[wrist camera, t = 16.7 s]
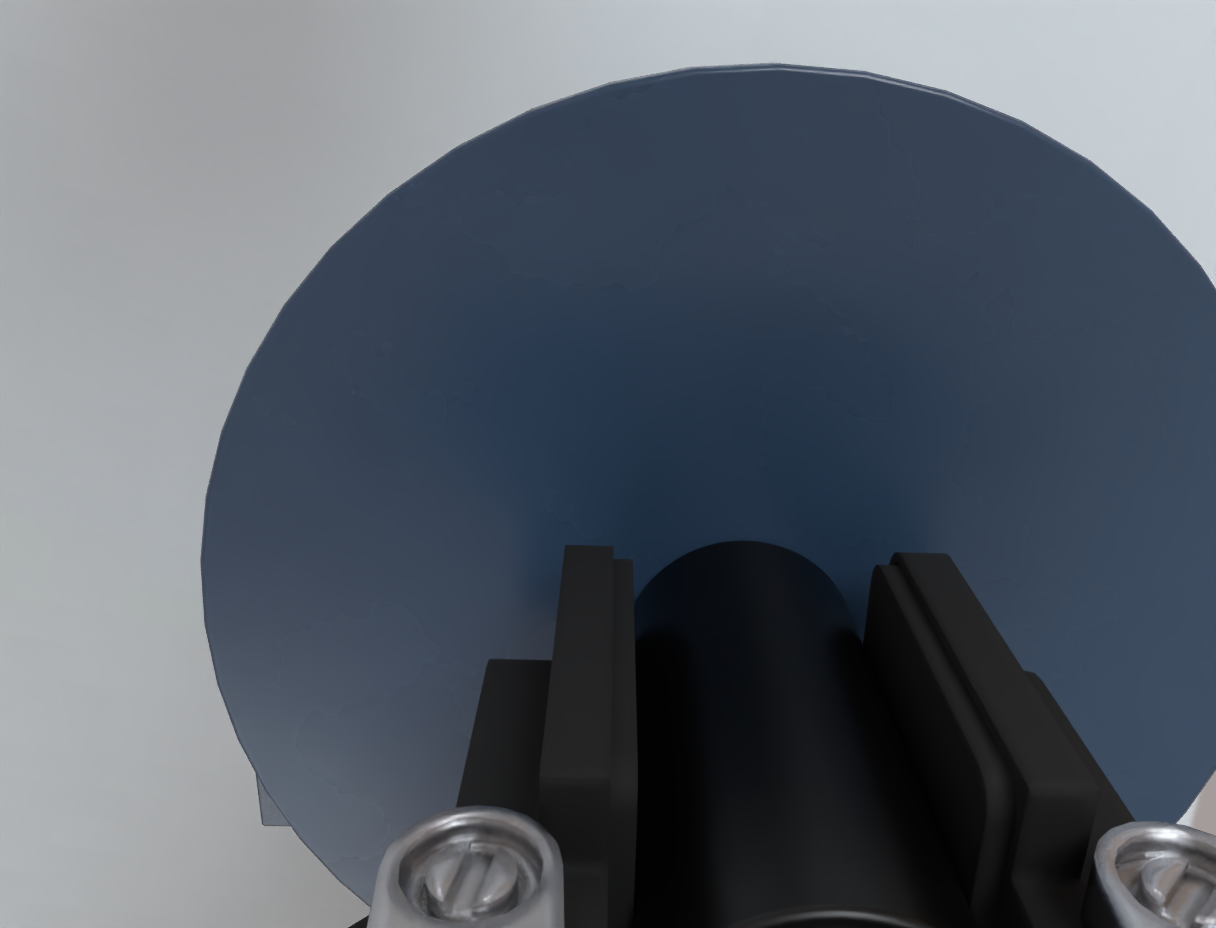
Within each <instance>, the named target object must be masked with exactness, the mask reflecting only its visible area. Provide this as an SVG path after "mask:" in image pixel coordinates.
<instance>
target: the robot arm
mask: <svg viewBox="0 0 1216 928" xmlns="http://www.w3.org/2000/svg"><path fill="white" fill-rule="evenodd" d="M613 557H614V546H590V545H565V549H564V558H563V567H562V576H561V585H560V593H559V602H558V611H557V620H556V629H555V638H554V647H553V656H552V660H525V659H490V660H488V663H487V667H486V671H485V675H484V680H483V684H482V689H481V694H480V698H479V703H478V707H477V712H476V717H475V721H474V726H473V731H472V735H471V740H470V744H469V749H468V754H467V758H466V763H465V767H464V772H463V777H462V781H461V786H460V790H459V795H458V800H457V804H456V808H450V809H447V810H444V811H441V812H438V813H436V814H433V815H430V816H427V817H425V818H423V819H421V820H420V821H418V822H417V823H415V824H413V825H412V826H410V827H409V828H407V829H406V830H404V831H403V832H402V833H401V834H400V835H399V836H398V837H397V838H396V840H395V841H394V842H393V843H392V844H391V845H390V846H389V847H388V848H387V850H386V853H385V855H384V858H383V860H382V862H381V865H380V867H379V870H378V875H377V880H376V885H375V889H374V894H373V899H372V904H371V909H370V914H369V915H368V916H367V917H365V918H363V919H362V920H360V921H358V922H357V923H355V924H353V925H352V926H350V927H349V928H631V923H632V920H633V913H634V886H635V859H636V831H637V799H638V750H637V709H636V668H635V627H634V586H633V559H613ZM863 647H864V650H865V652H866V655H867V657H868V660H869V662H870V665H871V667H872V669H873V672H874V674H875V677H876V679H877V682H878V684H879V687H880V689H881V692H882V694H883V697H884V699H885V701H886V704H887V706H888V709H889V711H890V714H891V716H892V719H893V721H894V724H895V726H896V729H897V731H898V733H899V736H900V738H901V741H902V743H903V746H904V748H905V751H906V753H907V756H908V758H909V761H910V763H911V765H912V768H913V770H914V773H915V775H916V778H917V780H918V783H919V785H920V788H921V790H922V793H923V795H924V797H925V800H926V802H927V805H928V807H929V810H930V812H931V815H932V817H933V820H934V822H935V825H936V827H937V829H938V832H939V834H940V837H941V839H942V842H943V844H944V847H945V849H946V852H947V854H948V857H949V859H950V861H951V864H952V866H953V869H954V871H955V874H956V876H957V879H958V881H959V884H960V886H961V889H962V891H963V894H964V896H965V898H966V901H967V903H968V906H969V908H970V911H971V913H972V916H973V918H974V921H975V923H976V926H977V928H1216V836H1215V835H1212V834H1209V833H1206V832H1203V831H1200V830H1197V829H1194V828H1191V827H1188V826H1185V825H1179V824H1173V823H1166V822H1160V821H1141V822H1136V821H1135V819H1134V818H1133V816H1132V815H1131V813H1130V812H1129V810H1128V809H1127V807H1126V806H1125V804H1124V803H1123V801H1122V800H1121V798H1120V797H1119V795H1118V794H1117V792H1116V791H1115V789H1114V788H1113V786H1112V785H1111V783H1110V782H1109V780H1108V779H1107V777H1106V776H1105V774H1104V773H1103V771H1102V770H1101V768H1100V767H1099V765H1098V764H1097V762H1096V761H1095V759H1094V758H1093V756H1092V754H1091V753H1090V751H1089V750H1088V748H1087V747H1086V745H1085V744H1084V742H1083V741H1082V739H1081V738H1080V736H1079V735H1078V733H1077V732H1076V730H1075V729H1074V727H1073V726H1072V724H1071V723H1070V721H1069V720H1068V718H1067V717H1066V715H1065V714H1064V712H1063V711H1062V709H1061V708H1060V706H1059V705H1058V703H1057V702H1056V700H1055V699H1054V697H1053V696H1052V694H1051V693H1050V691H1049V690H1048V688H1047V687H1046V685H1045V684H1044V682H1043V681H1042V680H1041V679H1040V678H1039V677H1038V676H1037V675H1036V673H1033V672H1030V671H1024V670H1023V668H1022V667H1021V665H1020V664H1019V662H1018V661H1017V659H1016V658H1015V656H1014V655H1013V653H1012V651H1011V650H1010V648H1009V647H1008V645H1007V644H1006V642H1005V641H1004V639H1003V638H1002V636H1001V634H1000V633H999V631H998V630H997V628H996V627H995V625H994V624H993V622H992V621H991V619H990V617H989V616H988V614H987V613H986V611H985V610H984V608H983V607H982V605H981V604H980V602H979V600H978V599H977V597H976V596H975V594H974V593H973V591H972V590H971V588H970V586H969V585H968V583H967V582H966V580H965V579H964V577H963V576H962V574H961V573H960V571H959V569H958V568H957V566H956V565H955V563H954V562H953V560H952V559H951V557H950V556H949V555H948V554H947V553H905V552H895V553H894V554H893V555H892V557H891V560H890V563H889V565H876V566H875V567H874V569H873V572H872V577H871V584H870V592H869V600H868V608H867V616H866V624H865V632H864V640H863Z"/></svg>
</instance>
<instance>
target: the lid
mask: <svg viewBox="0 0 1216 928" xmlns="http://www.w3.org/2000/svg"><path fill="white" fill-rule="evenodd" d="M565 545H590V546H614V557H613V559H633V586H634V627H635V668H636V709H637V750H638V799H637V831H636V859H635V886H634V913H633V920H632V923H631V928H977V926H976V923H975V921H974V918H973V916H972V913H971V911H970V908H969V906H968V903H967V901H966V898H965V896H964V894H963V891H962V889H961V886H960V884H959V881H958V879H957V876H956V874H955V871H954V869H953V866H952V864H951V861H950V859H949V857H948V854H947V852H946V849H945V847H944V844H943V842H942V839H941V837H940V834H939V832H938V829H937V827H936V825H935V822H934V820H933V817H932V815H931V812H930V810H929V807H928V805H927V802H926V800H925V797H924V795H923V793H922V790H921V788H920V785H919V783H918V780H917V778H916V775H915V773H914V770H913V768H912V765H911V763H910V761H909V758H908V756H907V753H906V751H905V748H904V746H903V743H902V741H901V738H900V736H899V733H898V731H897V729H896V726H895V724H894V721H893V719H892V716H891V714H890V711H889V709H888V706H887V704H886V701H885V699H884V697H883V694H882V692H881V689H880V687H879V684H878V682H877V679H876V677H875V674H874V672H873V669H872V667H871V665H870V662H869V660H868V657H867V655H866V652H865V650H864V647H863V640H864V632H865V624H866V616H867V608H868V600H869V592H870V584H871V577H872V572H873V569H874V567H875V566H876V565H889V563H890V560H891V557H892V555H893V554H894V553H895V552H905V553H947V554H948V555H949V556H950V557H951V559H952V560H953V562H954V563H955V565H956V566H957V568H958V569H959V571H960V573H961V574H962V576H963V577H964V579H965V580H966V582H967V583H968V585H969V586H970V588H971V590H972V591H973V593H974V594H975V596H976V597H977V599H978V600H979V602H980V604H981V605H982V607H983V608H984V610H985V611H986V613H987V614H988V616H989V617H990V619H991V621H992V622H993V624H994V625H995V627H996V628H997V630H998V631H999V633H1000V634H1001V636H1002V638H1003V639H1004V641H1005V642H1006V644H1007V645H1008V647H1009V648H1010V650H1011V651H1012V653H1013V655H1014V656H1015V658H1016V659H1017V661H1018V662H1019V664H1020V665H1021V667H1022V668H1023V670H1024V671H1030V672H1033V673H1036V675H1037V676H1038V677H1039V678H1040V679H1041V680H1042V681H1043V682H1044V684H1045V685H1046V687H1047V688H1048V690H1049V691H1050V693H1051V694H1052V696H1053V697H1054V699H1055V700H1056V702H1057V703H1058V705H1059V706H1060V708H1061V709H1062V711H1063V712H1064V714H1065V715H1066V717H1067V718H1068V720H1069V721H1070V723H1071V724H1072V726H1073V727H1074V729H1075V730H1076V732H1077V733H1078V735H1079V736H1080V738H1081V739H1082V741H1083V742H1084V744H1085V745H1086V747H1087V748H1088V750H1089V751H1090V753H1091V754H1092V756H1093V758H1094V759H1095V761H1096V762H1097V764H1098V765H1099V767H1100V768H1101V770H1102V771H1103V773H1104V774H1105V776H1106V777H1107V779H1108V780H1109V782H1110V783H1111V785H1112V786H1113V788H1114V789H1115V791H1116V792H1117V794H1118V795H1119V797H1120V798H1121V800H1122V801H1123V803H1124V804H1125V806H1126V807H1127V809H1128V810H1129V812H1130V813H1131V815H1132V816H1133V818H1134V819H1135V821H1136V822H1141V821H1160V822H1166V823H1173V824H1176V823H1177V822H1178V821H1179V820H1180V818H1181V817H1182V816H1183V815H1184V814H1185V813H1186V812H1187V810H1188V809H1189V807H1190V806H1191V804H1192V803H1193V802H1194V800H1195V799H1196V797H1197V796H1198V795H1199V793H1200V792H1201V790H1202V789H1203V787H1204V786H1205V785H1206V783H1207V782H1208V780H1209V779H1210V778H1211V776H1212V775H1213V773H1214V772H1215V770H1216V288H1215V287H1214V285H1213V284H1212V282H1211V281H1210V279H1209V277H1208V276H1207V274H1206V273H1205V271H1204V270H1203V268H1202V267H1201V265H1200V264H1199V263H1198V262H1197V261H1196V260H1195V258H1194V257H1193V256H1192V255H1191V254H1190V253H1189V252H1188V251H1187V249H1186V248H1185V247H1184V246H1183V245H1182V244H1181V243H1180V242H1179V240H1178V239H1177V238H1176V237H1175V236H1174V235H1173V234H1172V233H1171V232H1170V230H1169V229H1168V228H1167V227H1166V226H1165V225H1164V224H1163V223H1162V221H1161V220H1160V219H1159V218H1158V217H1157V216H1156V215H1155V214H1154V212H1153V211H1152V210H1151V209H1149V208H1148V207H1147V206H1146V205H1144V204H1143V203H1142V202H1141V201H1140V200H1138V199H1137V198H1136V197H1135V196H1133V195H1132V194H1131V193H1130V192H1129V191H1127V190H1126V189H1125V188H1124V187H1122V186H1121V185H1120V184H1119V183H1118V182H1116V181H1115V180H1114V179H1113V178H1111V177H1110V176H1109V175H1108V174H1106V173H1105V172H1104V171H1103V170H1102V169H1100V168H1099V167H1098V166H1097V165H1095V164H1094V163H1093V162H1092V161H1090V160H1088V159H1087V158H1085V157H1083V156H1082V155H1080V154H1078V153H1076V152H1075V151H1073V150H1071V149H1070V148H1068V147H1066V146H1064V145H1063V144H1061V143H1059V142H1058V141H1056V140H1054V139H1053V138H1051V137H1049V136H1047V135H1046V134H1044V133H1042V132H1041V131H1039V130H1037V129H1035V128H1034V127H1032V126H1030V125H1029V124H1027V123H1025V122H1024V121H1021V120H1019V119H1016V118H1014V117H1011V116H1009V115H1006V114H1004V113H1001V112H999V111H996V110H994V109H991V108H989V107H986V106H984V105H981V104H979V103H976V102H974V101H971V100H969V99H966V98H964V97H961V96H959V95H956V94H954V93H951V92H949V91H946V90H942V89H937V88H933V87H929V86H925V85H921V84H916V83H912V82H908V81H904V80H900V79H895V78H891V77H887V76H883V75H879V74H874V73H870V72H866V71H857V70H846V69H835V68H824V67H813V66H802V65H791V64H780V63H760V64H740V65H719V66H699V67H688V68H682V69H677V70H672V71H666V72H661V73H656V74H651V75H645V76H640V77H635V78H630V79H624V80H619V81H614V82H609V83H606V84H603V85H600V86H597V87H594V88H591V89H588V90H585V91H582V92H580V93H577V94H574V95H571V96H568V97H565V98H562V99H559V100H556V101H553V102H550V103H547V104H544V105H541V106H538V107H535V108H532V109H530V110H528V111H526V112H524V113H522V114H520V115H518V116H516V117H514V118H512V119H510V120H508V121H506V122H504V123H502V124H500V125H498V126H496V127H494V128H492V129H490V130H488V131H486V132H484V133H482V134H480V135H478V136H476V137H474V138H472V139H470V140H468V141H466V142H464V143H462V144H461V145H459V146H457V147H456V148H454V149H452V150H451V151H450V152H448V153H447V154H445V155H444V156H442V157H441V158H439V159H438V160H437V161H435V162H434V163H432V164H431V165H429V166H428V167H426V168H425V169H424V170H422V171H421V172H419V173H418V174H416V175H415V176H413V177H412V178H411V179H409V180H408V181H406V182H405V183H403V184H402V185H400V186H399V187H398V188H396V189H395V190H393V191H392V192H390V193H389V194H388V195H386V196H385V197H384V198H383V199H382V200H381V201H380V202H379V203H378V204H377V205H376V206H375V207H373V208H372V209H371V210H370V211H369V212H368V213H367V214H366V215H365V216H364V217H363V218H362V219H361V220H359V221H358V222H357V223H356V224H355V225H354V226H353V227H352V228H351V229H350V230H349V231H348V232H346V233H345V234H344V235H343V236H342V237H341V238H340V239H339V240H338V241H337V242H336V243H335V244H334V245H332V246H331V247H330V249H329V250H328V251H327V252H326V254H325V255H324V256H323V257H322V258H321V260H320V261H319V262H318V263H317V265H316V266H315V267H314V268H313V270H312V271H311V272H310V273H309V275H308V276H307V277H306V278H305V280H304V281H303V282H302V283H301V284H300V286H299V287H298V288H297V289H296V291H295V292H294V293H293V294H292V296H291V297H290V298H289V299H288V301H287V302H286V303H285V304H284V306H283V307H282V309H281V311H280V312H279V314H278V316H277V317H276V319H275V321H274V323H273V324H272V326H271V328H270V329H269V331H268V333H267V334H266V336H265V338H264V340H263V341H262V343H261V345H260V346H259V348H258V350H257V351H256V353H255V355H254V356H253V358H252V360H251V362H250V363H249V365H248V367H247V369H246V371H245V374H244V376H243V379H242V381H241V384H240V386H239V389H238V391H237V394H236V396H235V398H234V401H233V403H232V406H231V408H230V411H229V413H228V416H227V418H226V421H225V423H224V426H223V428H222V431H221V434H220V438H219V443H218V447H217V451H216V455H215V460H214V464H213V468H212V472H211V476H210V481H209V485H208V489H207V493H206V499H205V511H204V523H203V535H202V548H201V560H200V561H201V576H202V592H203V607H204V622H205V628H206V633H207V638H208V642H209V647H210V651H211V656H212V661H213V665H214V670H215V675H216V679H217V684H218V687H219V689H220V692H221V695H222V697H223V700H224V703H225V706H226V708H227V711H228V714H229V716H230V719H231V722H232V724H233V727H234V730H235V733H236V735H237V738H238V740H239V742H240V744H241V746H242V748H243V750H244V752H245V753H246V755H247V757H248V759H249V761H250V763H251V765H252V767H253V768H254V770H255V772H256V774H257V776H258V778H259V780H260V781H261V783H262V785H263V787H264V789H265V791H266V792H267V794H268V795H269V797H270V798H271V799H272V801H273V802H274V803H275V805H276V806H277V808H278V809H279V810H280V812H281V813H282V815H283V816H284V817H285V819H286V820H287V822H288V823H289V824H290V826H291V827H292V828H293V830H294V831H295V833H296V834H297V835H298V837H299V838H300V839H301V840H302V842H303V843H304V844H305V845H306V846H307V847H308V848H309V849H310V850H311V851H312V852H313V853H314V854H315V855H316V857H317V858H318V859H319V860H320V861H321V862H322V863H323V864H324V865H325V866H326V867H327V868H328V869H329V871H330V872H331V873H332V874H333V875H334V876H335V877H336V878H337V879H338V880H339V881H340V882H341V883H342V884H343V885H345V886H346V887H347V888H348V889H349V890H351V891H352V892H353V893H354V894H355V895H356V896H358V897H359V898H360V899H361V900H362V901H364V902H365V903H366V904H367V905H368V906H370V907H371V904H372V899H373V894H374V889H375V885H376V880H377V875H378V870H379V867H380V865H381V862H382V860H383V858H384V855H385V853H386V850H387V848H388V847H389V846H390V845H391V844H392V843H393V842H394V841H395V840H396V838H397V837H398V836H399V835H400V834H401V833H402V832H403V831H404V830H406V829H407V828H409V827H410V826H412V825H413V824H415V823H417V822H418V821H420V820H421V819H423V818H425V817H427V816H430V815H433V814H436V813H438V812H441V811H444V810H447V809H450V808H456V804H457V800H458V795H459V790H460V786H461V781H462V777H463V772H464V767H465V763H466V758H467V754H468V749H469V744H470V740H471V735H472V731H473V726H474V721H475V717H476V712H477V707H478V703H479V698H480V694H481V689H482V684H483V680H484V675H485V671H486V667H487V663H488V660H490V659H525V660H552V656H553V647H554V638H555V629H556V620H557V611H558V602H559V593H560V585H561V576H562V567H563V558H564V549H565Z"/></svg>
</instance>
